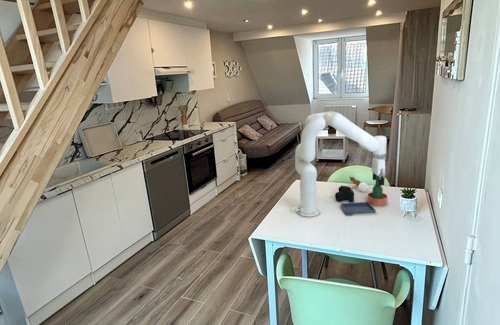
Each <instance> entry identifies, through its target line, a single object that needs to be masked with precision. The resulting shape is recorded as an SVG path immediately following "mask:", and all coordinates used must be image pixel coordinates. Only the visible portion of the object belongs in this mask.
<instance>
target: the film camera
mask: <svg viewBox="0 0 500 325" xmlns="http://www.w3.org/2000/svg"><path fill="white" fill-rule="evenodd" d="M350 188H351V187H350V186H349V185H340V186H339V187H338V188H337V190H338V191H337V192H335V193H334V198H335V200H336V201H337V202H342V201H343V202H344V201H345V202H346V201H347V202H348V203H355V192H354V190H351V189H350Z"/></svg>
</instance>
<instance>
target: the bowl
mask: <svg viewBox="0 0 500 325" xmlns="http://www.w3.org/2000/svg"><path fill="white" fill-rule="evenodd" d="M388 197H389V196H388V194H386V193H384V192H383V195H382V199H374V198H372V192H367V193H366V202H369V203H370V204H371V206H372V207H385V206H387V205H388V199H389V198H388Z"/></svg>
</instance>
